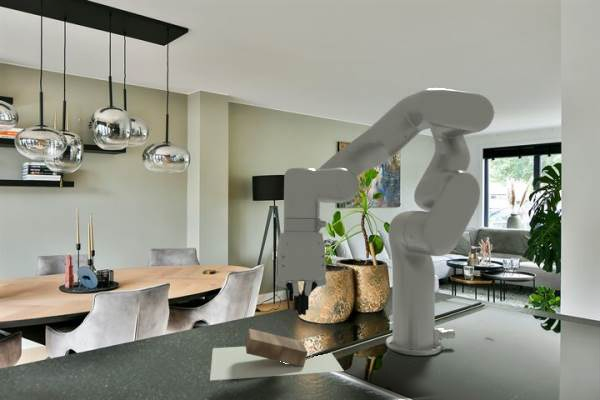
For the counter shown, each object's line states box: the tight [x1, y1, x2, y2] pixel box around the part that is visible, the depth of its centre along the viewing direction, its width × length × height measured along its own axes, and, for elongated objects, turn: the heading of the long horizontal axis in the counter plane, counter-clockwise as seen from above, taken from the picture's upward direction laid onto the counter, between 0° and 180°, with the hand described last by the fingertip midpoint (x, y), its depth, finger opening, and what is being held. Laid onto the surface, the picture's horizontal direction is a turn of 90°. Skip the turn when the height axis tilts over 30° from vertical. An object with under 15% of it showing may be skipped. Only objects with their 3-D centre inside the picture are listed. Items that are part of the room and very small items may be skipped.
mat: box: [209, 346, 345, 382], centre depth 92 cm, size 26×18×1 cm
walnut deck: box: [244, 328, 308, 367], centre depth 90 cm, size 3×7×12 cm
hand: (300, 313), depth 91 cm, fingers closed
